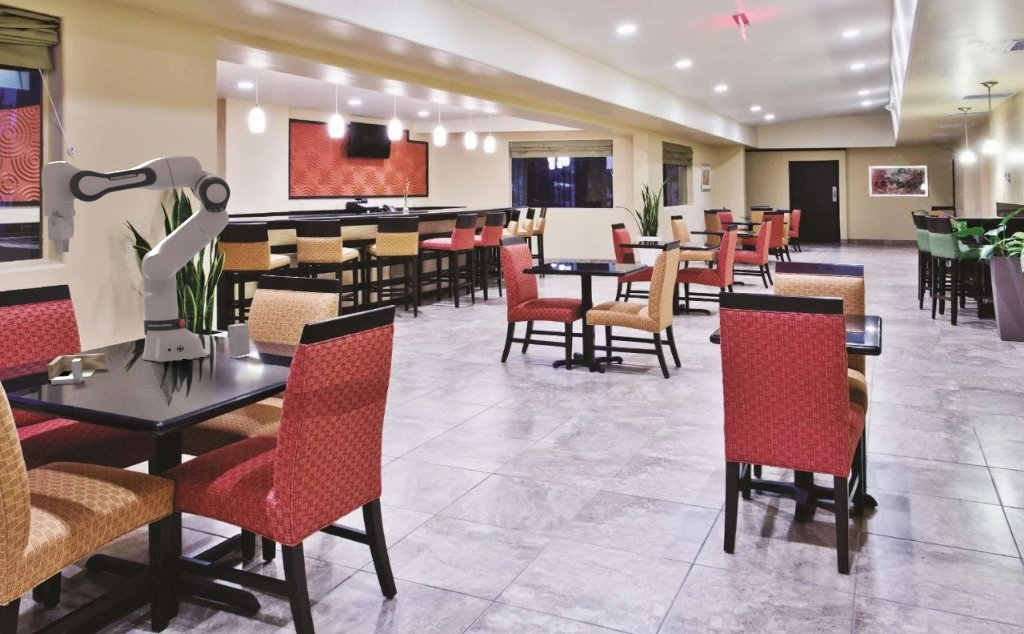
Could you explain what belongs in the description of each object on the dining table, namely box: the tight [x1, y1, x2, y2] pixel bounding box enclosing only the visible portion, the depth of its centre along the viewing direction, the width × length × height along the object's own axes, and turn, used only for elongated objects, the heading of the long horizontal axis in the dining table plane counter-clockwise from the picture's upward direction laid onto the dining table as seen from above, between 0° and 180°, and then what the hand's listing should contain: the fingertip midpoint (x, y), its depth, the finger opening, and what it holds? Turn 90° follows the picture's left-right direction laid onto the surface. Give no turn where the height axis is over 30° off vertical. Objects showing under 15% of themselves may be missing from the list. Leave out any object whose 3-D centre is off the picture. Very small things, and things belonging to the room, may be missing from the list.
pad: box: [68, 369, 97, 378], centre depth 260 cm, size 7×11×1 cm, turn 19°
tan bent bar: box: [47, 353, 107, 382], centre depth 260 cm, size 14×16×5 cm
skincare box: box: [227, 323, 251, 357], centre depth 289 cm, size 6×4×12 cm
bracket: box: [50, 358, 84, 386], centre depth 248 cm, size 8×4×7 cm, turn 109°
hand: (62, 252), depth 266 cm, fingers open, 8 cm apart
